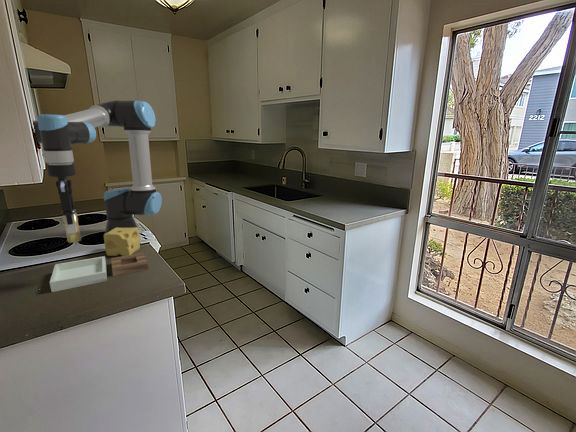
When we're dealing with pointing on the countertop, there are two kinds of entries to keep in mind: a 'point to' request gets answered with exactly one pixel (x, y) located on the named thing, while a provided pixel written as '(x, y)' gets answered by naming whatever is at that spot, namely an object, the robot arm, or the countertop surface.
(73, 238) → the brown and black cylinder
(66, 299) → the countertop surface
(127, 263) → the pin block
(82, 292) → the countertop surface
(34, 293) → the countertop surface
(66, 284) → the tray
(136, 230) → the cheese
